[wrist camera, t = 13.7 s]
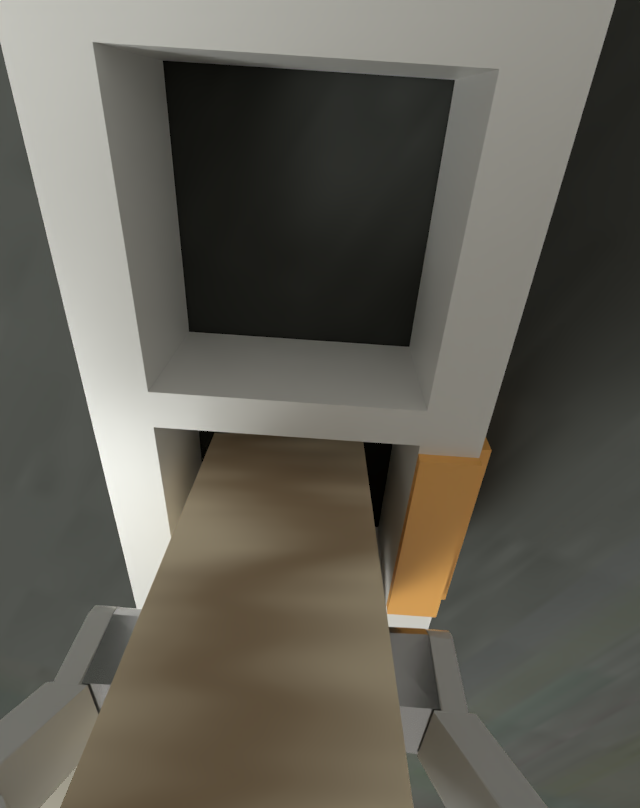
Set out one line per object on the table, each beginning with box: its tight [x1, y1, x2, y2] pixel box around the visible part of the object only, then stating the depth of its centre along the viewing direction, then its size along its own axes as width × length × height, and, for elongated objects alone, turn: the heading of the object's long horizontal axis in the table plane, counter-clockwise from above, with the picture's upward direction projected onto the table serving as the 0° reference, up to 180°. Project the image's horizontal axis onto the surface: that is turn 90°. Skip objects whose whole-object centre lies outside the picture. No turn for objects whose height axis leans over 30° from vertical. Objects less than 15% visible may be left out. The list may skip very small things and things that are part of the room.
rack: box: [0, 0, 616, 629], centre depth 11 cm, size 10×24×4 cm, turn 177°
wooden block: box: [60, 433, 413, 808], centre depth 11 cm, size 5×5×10 cm
